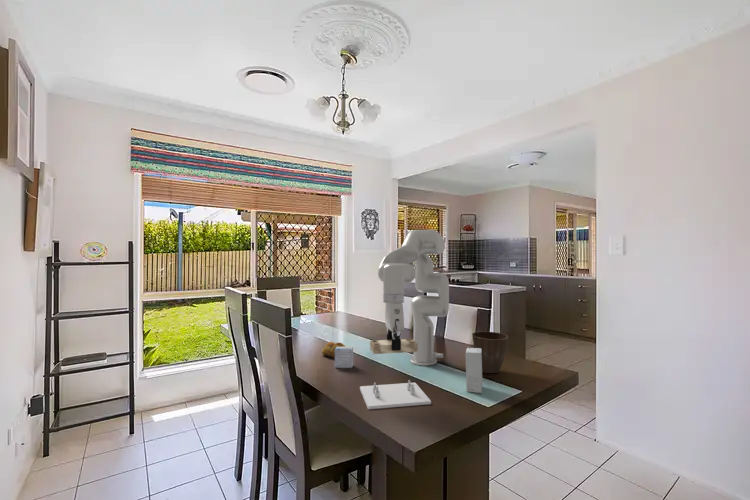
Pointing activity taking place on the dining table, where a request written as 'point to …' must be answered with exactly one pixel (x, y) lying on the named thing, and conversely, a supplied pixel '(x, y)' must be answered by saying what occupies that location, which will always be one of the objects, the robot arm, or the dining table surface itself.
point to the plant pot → (491, 349)
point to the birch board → (386, 346)
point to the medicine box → (343, 357)
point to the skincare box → (474, 370)
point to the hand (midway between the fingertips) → (393, 347)
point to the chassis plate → (393, 395)
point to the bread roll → (331, 349)
